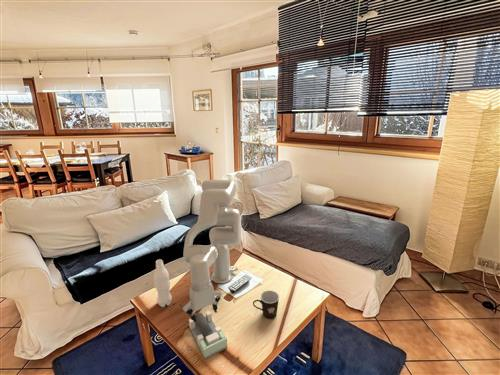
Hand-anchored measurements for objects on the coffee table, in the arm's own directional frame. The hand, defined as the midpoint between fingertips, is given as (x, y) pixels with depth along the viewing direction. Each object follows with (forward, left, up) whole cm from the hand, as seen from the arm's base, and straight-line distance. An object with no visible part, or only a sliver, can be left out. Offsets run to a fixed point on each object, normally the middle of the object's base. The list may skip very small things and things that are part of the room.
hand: (204, 315), depth 116 cm
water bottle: (+11, -28, -9) cm, 31 cm away
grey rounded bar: (0, +1, -8) cm, 8 cm away
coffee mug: (-29, +5, -9) cm, 31 cm away
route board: (+1, +2, -9) cm, 9 cm away
